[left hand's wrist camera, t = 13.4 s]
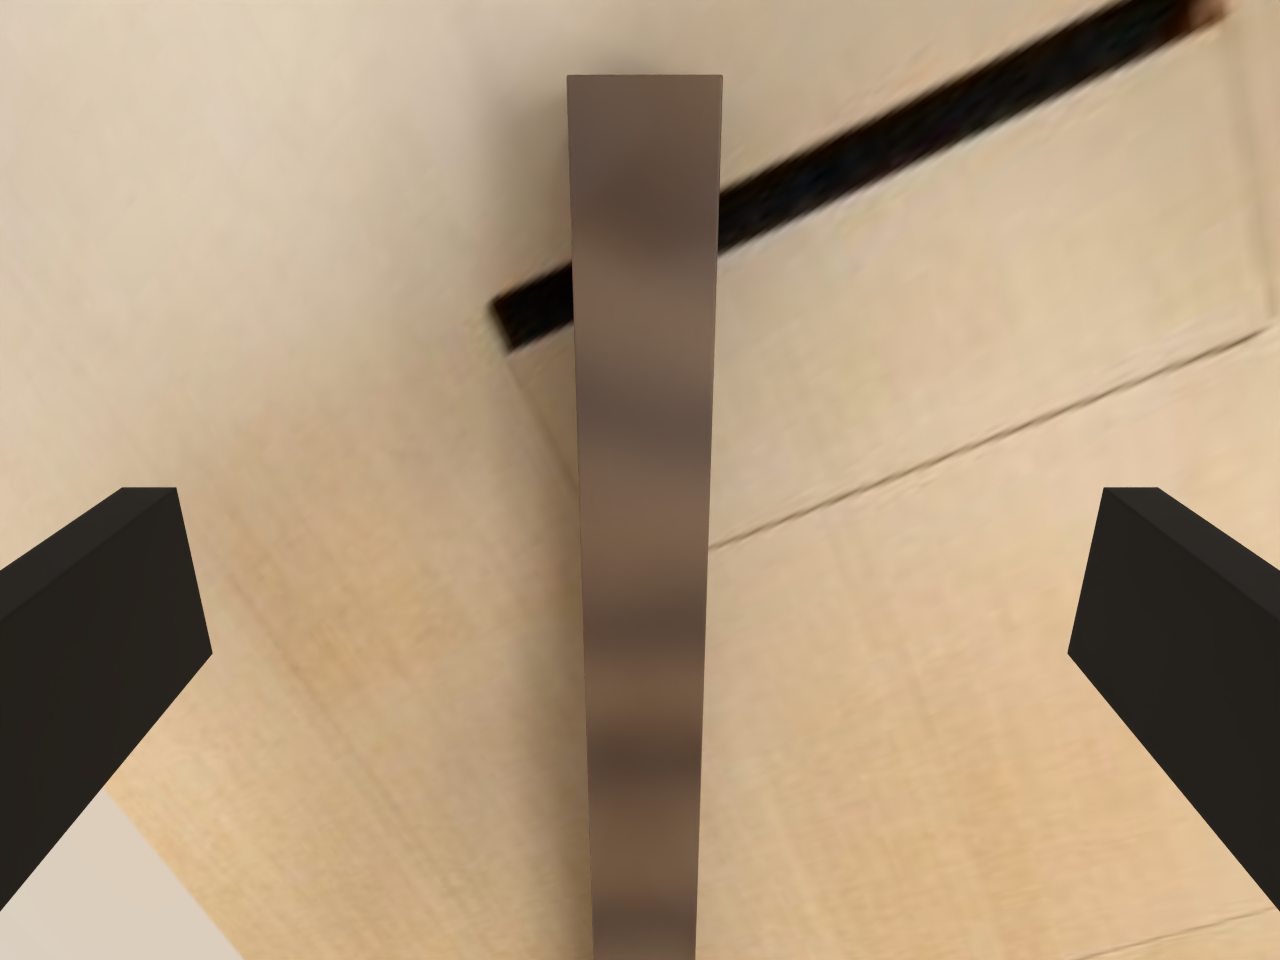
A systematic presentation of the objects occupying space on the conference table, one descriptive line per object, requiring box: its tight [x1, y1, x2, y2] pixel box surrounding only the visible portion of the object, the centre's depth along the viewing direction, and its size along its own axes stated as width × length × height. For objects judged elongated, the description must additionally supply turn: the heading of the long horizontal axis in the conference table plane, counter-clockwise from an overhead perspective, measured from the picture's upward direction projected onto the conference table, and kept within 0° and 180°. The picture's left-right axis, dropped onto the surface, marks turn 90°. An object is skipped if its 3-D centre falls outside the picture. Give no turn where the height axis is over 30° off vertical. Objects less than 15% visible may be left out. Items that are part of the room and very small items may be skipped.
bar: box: [567, 75, 723, 960], centre depth 45 cm, size 75×5×8 cm, turn 0°
